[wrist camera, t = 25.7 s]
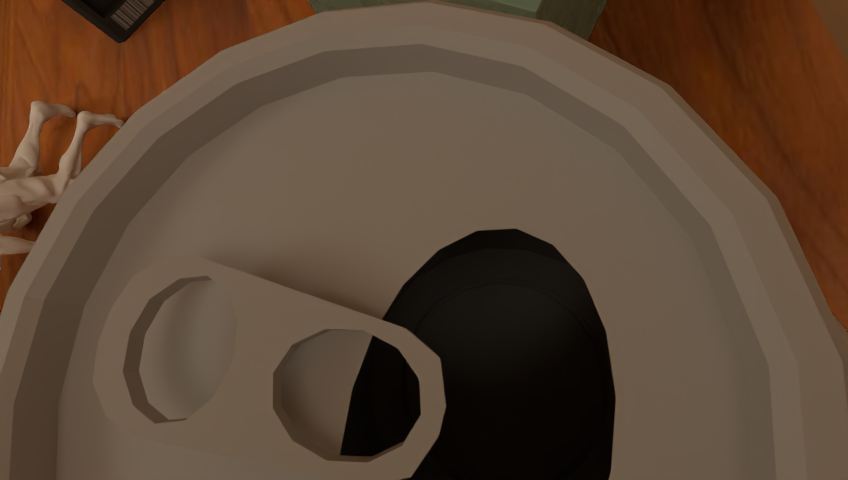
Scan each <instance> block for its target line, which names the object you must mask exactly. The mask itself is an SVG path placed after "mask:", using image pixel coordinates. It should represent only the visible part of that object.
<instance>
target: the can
mask: <svg viewBox="0 0 848 480" xmlns="http://www.w3.org/2000/svg"><path fill="white" fill-rule="evenodd" d="M0 480H848V346H847V344H846V341H845V339H844V337H843V335H842V333H841V331H840V329H839V327H838V325H837V322H836V320H835V318H834V316H833V314H832V312H831V310H830V308H829V306H828V303H827V301H826V299H825V297H824V295H823V293H822V291H821V289H820V287H819V284H818V282H817V280H816V278H815V276H814V274H813V272H812V270H811V267H810V265H809V263H808V261H807V259H806V257H805V255H804V253H803V251H802V248H801V246H800V244H799V242H798V240H797V238H796V236H795V234H794V232H793V229H792V227H791V225H790V223H789V221H788V219H787V217H786V215H785V213H784V210H783V208H782V206H781V204H780V202H779V200H778V198H777V196H776V195H775V194H774V193H773V192H772V191H771V190H770V189H769V188H768V187H767V186H766V185H765V184H764V183H763V182H762V181H761V180H760V179H759V178H758V177H757V176H756V175H755V174H754V173H753V171H752V170H751V169H750V168H749V167H748V166H747V165H746V164H745V163H744V162H743V161H742V160H741V159H740V158H739V157H738V156H737V155H736V154H735V153H734V152H733V151H732V150H731V149H730V147H729V146H728V145H727V144H726V143H725V142H724V141H723V140H722V139H721V138H720V137H719V136H718V135H717V134H716V133H715V132H714V131H713V130H712V129H711V128H710V127H709V126H708V125H707V124H706V122H705V121H704V120H703V119H702V118H701V117H700V116H699V115H698V114H697V113H696V112H695V111H694V110H693V109H692V108H691V107H690V106H689V105H688V104H687V103H686V102H685V101H684V100H683V99H682V97H681V96H680V95H679V94H678V93H677V92H676V91H675V90H674V89H673V88H672V87H671V86H670V85H668V84H667V83H665V82H663V81H661V80H659V79H657V78H655V77H654V76H652V75H650V74H648V73H646V72H644V71H642V70H640V69H639V68H637V67H635V66H633V65H631V64H629V63H627V62H625V61H624V60H622V59H620V58H618V57H616V56H614V55H612V54H610V53H609V52H607V51H605V50H603V49H601V48H599V47H597V46H596V45H594V44H592V43H590V42H588V41H586V40H584V39H582V38H581V37H579V36H577V35H575V34H573V33H571V32H569V31H567V30H566V29H564V28H562V27H560V26H558V25H556V24H554V23H552V22H549V21H544V20H539V19H533V18H528V17H523V16H517V15H512V14H507V13H502V12H496V11H491V10H486V9H480V8H475V7H470V6H464V5H459V4H454V3H449V2H443V1H438V0H428V1H418V2H408V3H398V4H388V5H378V6H368V7H358V8H349V9H339V10H329V11H323V12H321V13H318V14H315V15H313V16H310V17H308V18H305V19H302V20H300V21H297V22H295V23H292V24H290V25H287V26H284V27H282V28H279V29H277V30H274V31H271V32H269V33H266V34H264V35H261V36H258V37H256V38H253V39H251V40H248V41H245V42H243V43H240V44H238V45H235V46H232V47H230V48H227V49H225V50H222V51H221V52H219V53H218V54H216V55H215V56H214V57H212V58H211V59H209V60H208V61H206V62H205V63H204V64H202V65H201V66H199V67H198V68H196V69H195V70H194V71H192V72H191V73H189V74H188V75H187V76H185V77H184V78H182V79H181V80H179V81H178V82H177V83H175V84H174V85H172V86H171V87H169V88H168V89H167V90H165V91H164V92H162V93H161V94H160V95H158V96H157V97H155V98H154V99H152V100H151V101H150V102H148V103H147V104H145V105H144V106H142V107H141V108H140V109H138V110H137V111H136V112H135V113H134V114H133V115H132V116H131V117H130V118H129V119H128V120H127V122H126V123H125V124H124V125H123V126H122V127H121V128H120V129H119V131H118V132H117V133H116V134H115V135H114V136H113V137H112V138H111V140H110V141H109V142H108V143H107V144H106V145H105V146H104V147H103V148H102V150H101V151H100V152H99V153H98V154H97V155H96V156H95V157H94V159H93V160H92V161H91V162H90V163H89V164H88V165H87V166H86V167H85V169H84V170H83V171H82V172H81V173H80V174H79V175H78V176H77V178H76V179H75V180H74V181H73V182H72V183H71V184H70V185H69V186H68V188H67V189H66V190H65V191H64V192H63V194H62V196H61V198H60V199H59V201H58V203H57V205H56V207H55V208H54V210H53V212H52V214H51V215H50V217H49V219H48V221H47V222H46V224H45V226H44V228H43V230H42V231H41V233H40V235H39V237H38V238H37V240H36V242H35V244H34V246H33V247H32V249H31V251H30V253H29V254H28V256H27V258H26V260H25V261H24V263H23V265H22V267H21V269H20V270H19V272H18V274H17V276H16V277H15V279H14V281H13V283H12V285H11V286H10V288H9V290H8V293H7V296H6V299H5V302H4V305H3V309H2V312H1V315H0Z"/></svg>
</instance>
